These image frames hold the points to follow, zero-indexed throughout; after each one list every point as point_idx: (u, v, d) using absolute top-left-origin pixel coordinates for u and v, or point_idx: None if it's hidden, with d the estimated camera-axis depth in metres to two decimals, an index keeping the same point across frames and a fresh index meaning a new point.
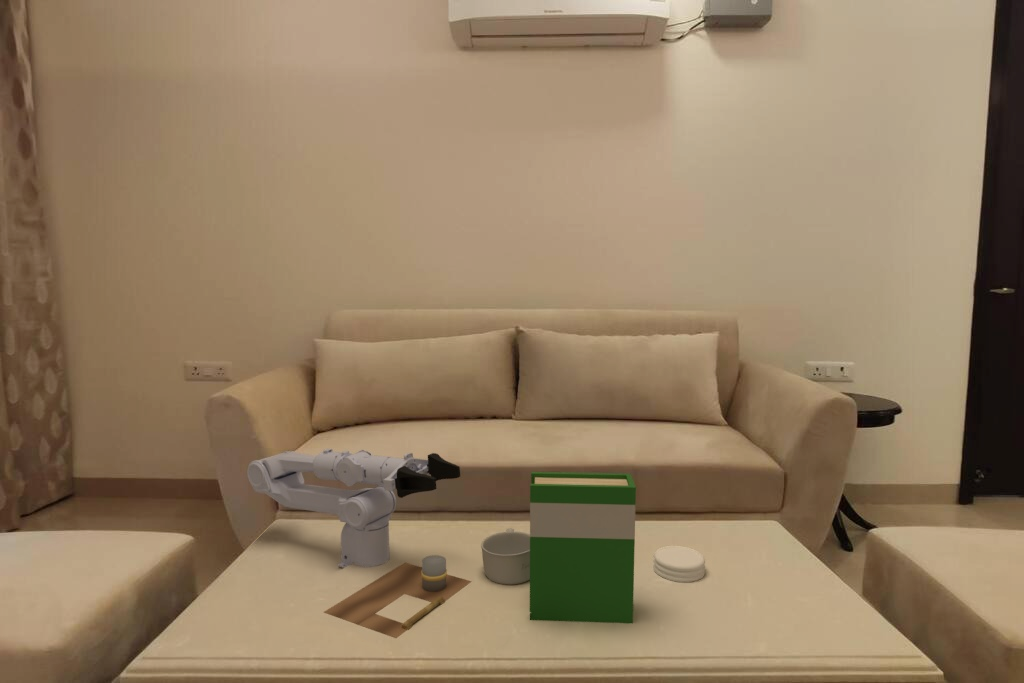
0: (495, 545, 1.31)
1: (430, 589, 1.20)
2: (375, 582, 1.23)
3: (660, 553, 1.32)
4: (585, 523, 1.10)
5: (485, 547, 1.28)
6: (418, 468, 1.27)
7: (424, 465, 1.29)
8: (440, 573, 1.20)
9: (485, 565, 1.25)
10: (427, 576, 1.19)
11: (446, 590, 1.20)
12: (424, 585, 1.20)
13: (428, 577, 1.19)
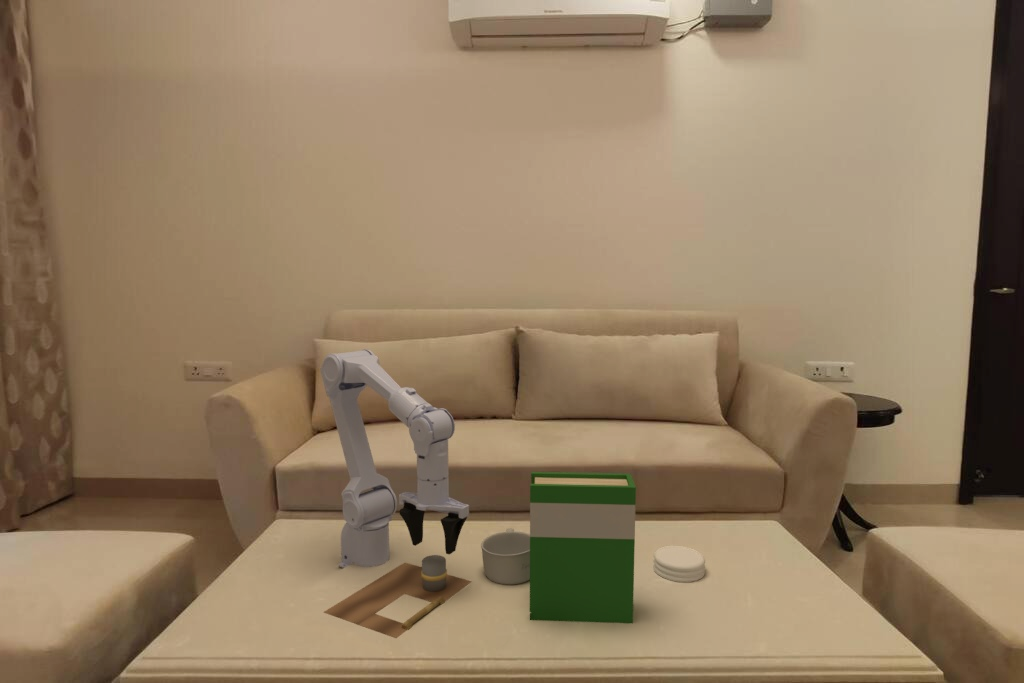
0: (495, 545, 1.31)
1: (430, 589, 1.20)
2: (375, 582, 1.23)
3: (660, 553, 1.32)
4: (585, 523, 1.10)
5: (485, 547, 1.28)
6: None
7: None
8: (440, 573, 1.20)
9: (485, 565, 1.25)
10: (427, 576, 1.19)
11: (446, 590, 1.20)
12: (424, 585, 1.20)
13: (428, 577, 1.19)
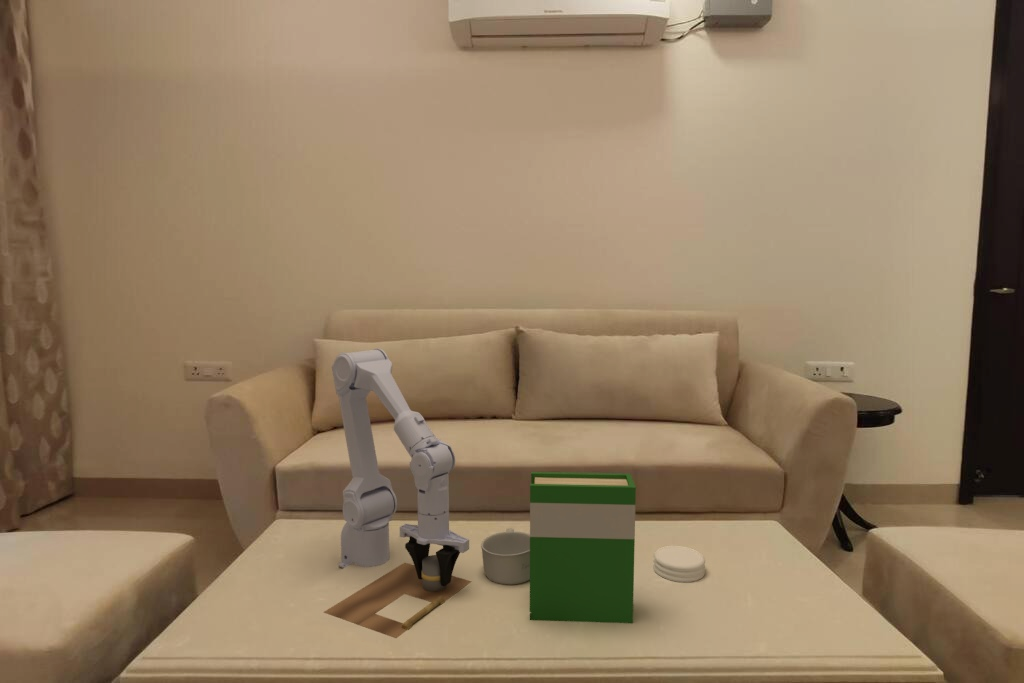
0: (495, 545, 1.31)
1: (431, 589, 1.20)
2: (375, 582, 1.23)
3: (660, 553, 1.32)
4: (585, 523, 1.10)
5: (485, 547, 1.28)
6: None
7: None
8: None
9: (485, 565, 1.25)
10: (427, 576, 1.19)
11: (446, 590, 1.20)
12: (424, 585, 1.20)
13: (428, 577, 1.19)
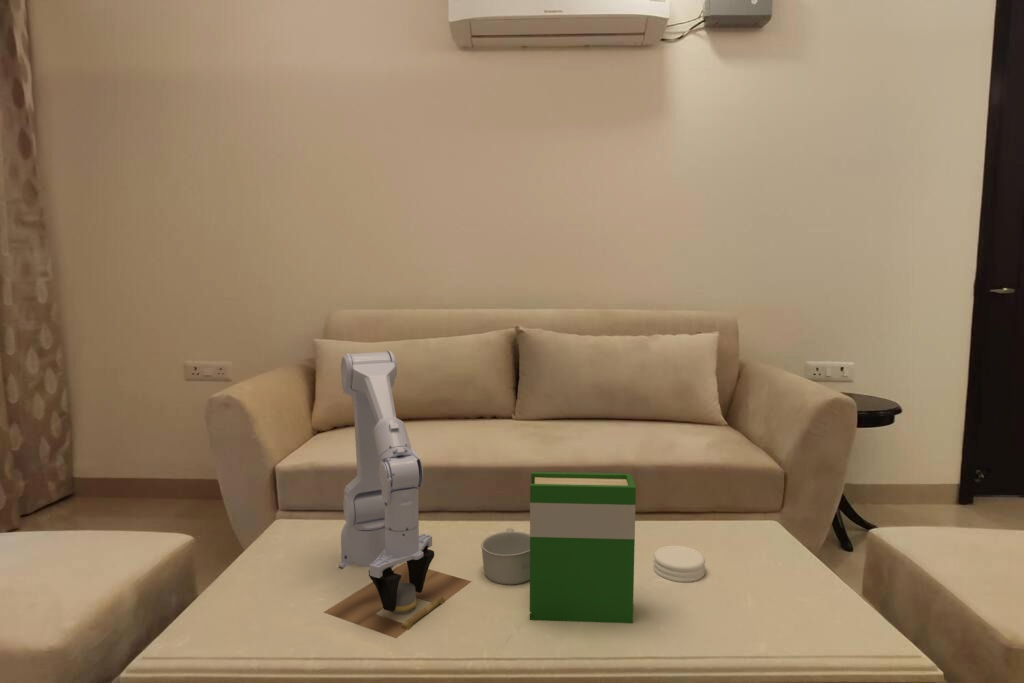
0: (495, 545, 1.31)
1: None
2: None
3: (660, 553, 1.32)
4: (585, 523, 1.10)
5: (485, 547, 1.28)
6: None
7: None
8: None
9: (485, 565, 1.25)
10: (413, 603, 1.13)
11: (446, 590, 1.20)
12: None
13: (414, 603, 1.13)
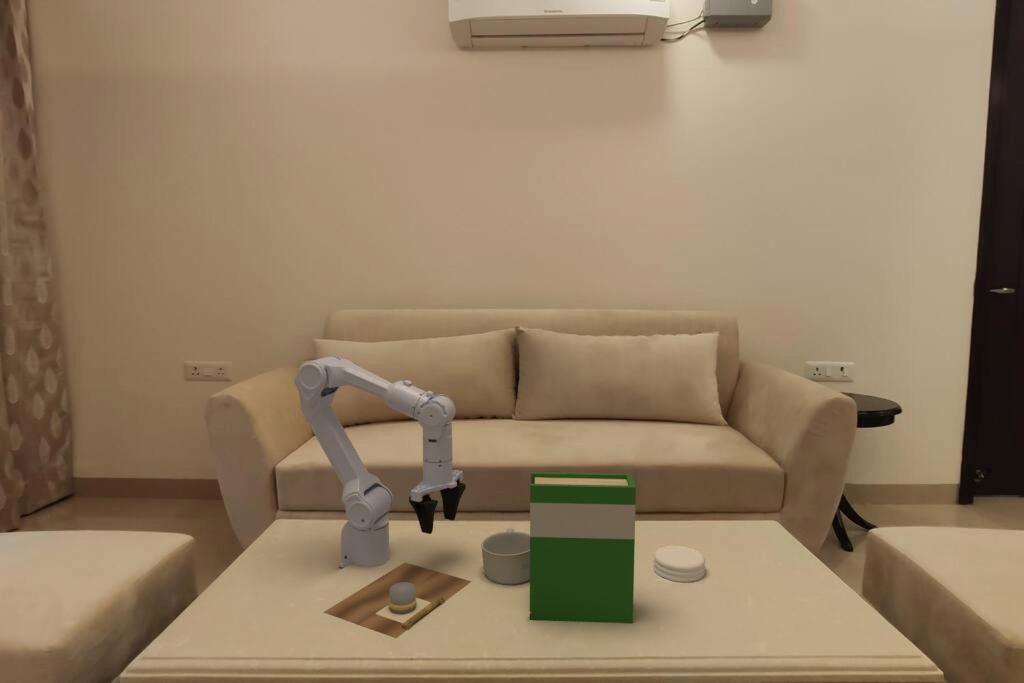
0: (495, 545, 1.31)
1: None
2: (375, 582, 1.23)
3: (660, 553, 1.32)
4: (585, 523, 1.10)
5: (485, 547, 1.28)
6: None
7: None
8: None
9: (485, 565, 1.25)
10: (412, 602, 1.13)
11: (446, 590, 1.20)
12: None
13: (413, 603, 1.13)
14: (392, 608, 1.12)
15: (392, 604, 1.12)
